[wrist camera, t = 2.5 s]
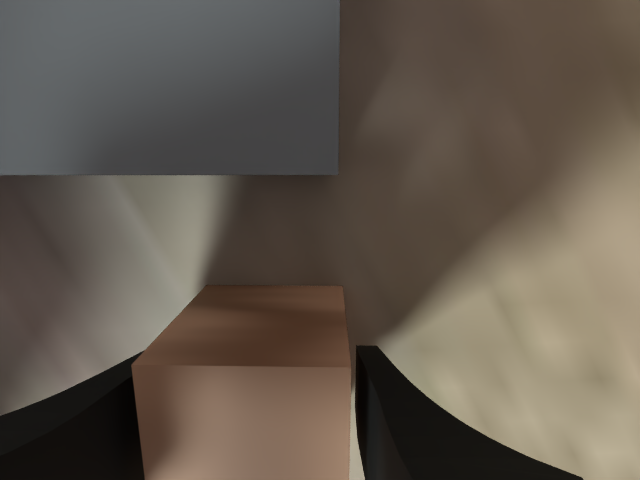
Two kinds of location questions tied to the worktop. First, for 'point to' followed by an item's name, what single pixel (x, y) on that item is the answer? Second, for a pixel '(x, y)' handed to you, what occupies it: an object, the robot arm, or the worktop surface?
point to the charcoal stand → (169, 87)
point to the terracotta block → (248, 387)
